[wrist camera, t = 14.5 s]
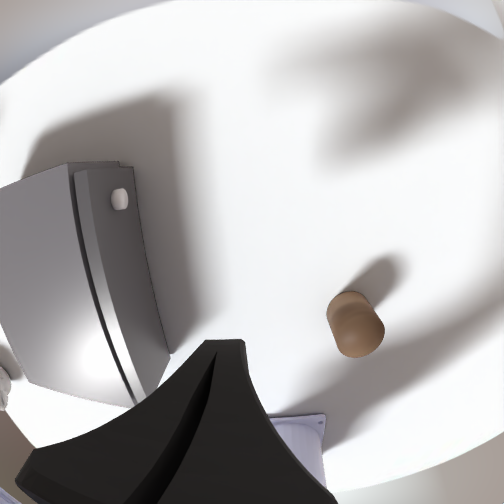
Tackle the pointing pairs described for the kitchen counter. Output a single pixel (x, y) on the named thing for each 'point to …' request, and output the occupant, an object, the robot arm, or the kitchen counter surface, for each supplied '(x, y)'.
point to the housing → (55, 290)
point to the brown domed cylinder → (354, 324)
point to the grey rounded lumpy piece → (4, 388)
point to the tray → (122, 274)
